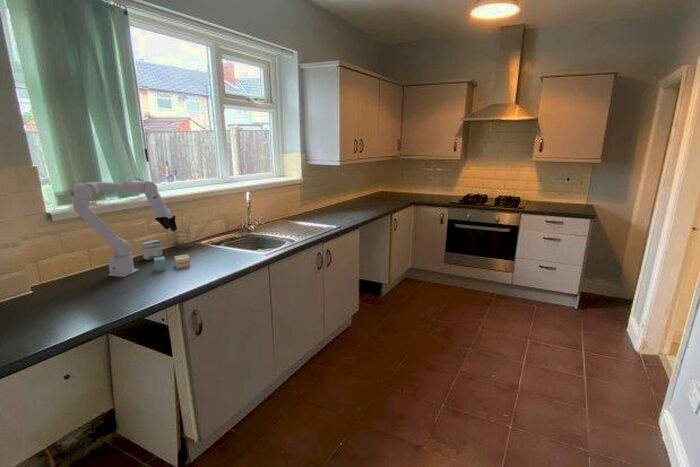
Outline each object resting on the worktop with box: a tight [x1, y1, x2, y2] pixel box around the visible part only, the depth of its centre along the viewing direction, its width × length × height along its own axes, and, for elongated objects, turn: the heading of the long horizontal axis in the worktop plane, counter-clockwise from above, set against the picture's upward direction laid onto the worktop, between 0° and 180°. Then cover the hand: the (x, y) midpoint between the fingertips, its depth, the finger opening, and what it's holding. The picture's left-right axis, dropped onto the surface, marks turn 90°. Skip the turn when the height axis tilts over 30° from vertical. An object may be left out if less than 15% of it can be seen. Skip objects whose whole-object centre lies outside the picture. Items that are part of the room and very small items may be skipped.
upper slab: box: [174, 254, 191, 265], centre depth 180 cm, size 6×6×2 cm
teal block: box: [153, 255, 167, 272], centre depth 176 cm, size 4×4×6 cm
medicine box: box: [141, 239, 163, 261], centre depth 192 cm, size 8×4×9 cm, turn 143°
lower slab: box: [174, 261, 191, 270], centre depth 181 cm, size 6×6×2 cm
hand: (171, 229), depth 182 cm, fingers open, 7 cm apart
